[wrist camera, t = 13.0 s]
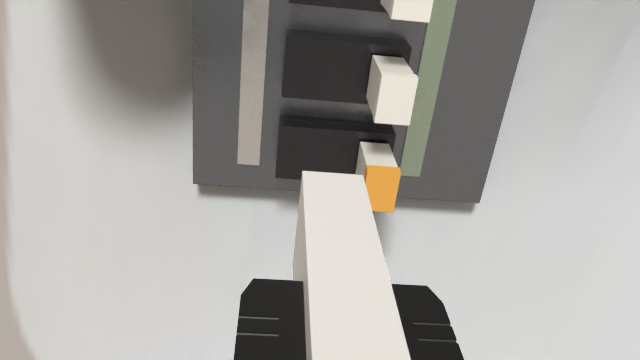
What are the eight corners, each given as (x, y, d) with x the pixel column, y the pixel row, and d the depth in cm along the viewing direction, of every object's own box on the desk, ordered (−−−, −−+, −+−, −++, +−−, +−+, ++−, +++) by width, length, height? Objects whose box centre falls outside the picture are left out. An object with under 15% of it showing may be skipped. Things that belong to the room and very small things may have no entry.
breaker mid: (365, 97, 36) (374, 122, 33) (371, 54, 35) (382, 74, 31) (396, 100, 37) (409, 125, 33) (404, 57, 35) (418, 78, 32)
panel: (195, 174, 43) (188, 197, 40) (196, -84, 34) (187, -81, 31) (473, 193, 45) (487, 216, 42) (537, -46, 36) (560, -40, 33)
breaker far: (353, 178, 39) (360, 210, 35) (359, 141, 38) (367, 170, 34) (383, 180, 39) (393, 212, 36) (389, 143, 38) (401, 172, 34)
